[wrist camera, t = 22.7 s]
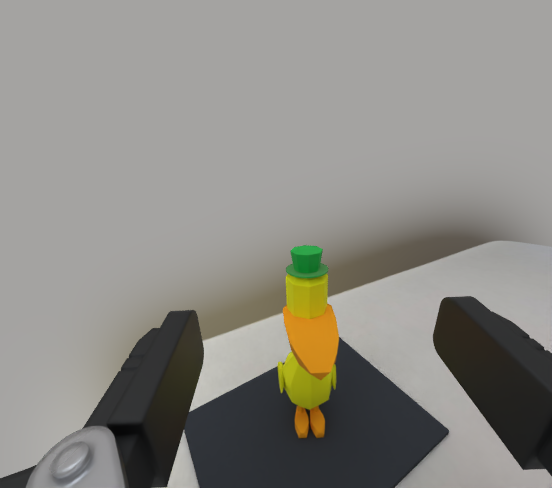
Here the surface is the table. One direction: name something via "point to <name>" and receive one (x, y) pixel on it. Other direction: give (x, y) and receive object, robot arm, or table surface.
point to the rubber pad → (312, 434)
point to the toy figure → (309, 339)
